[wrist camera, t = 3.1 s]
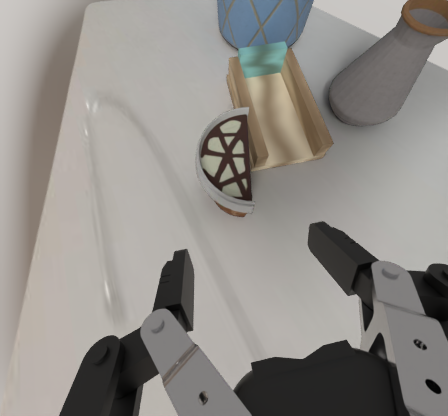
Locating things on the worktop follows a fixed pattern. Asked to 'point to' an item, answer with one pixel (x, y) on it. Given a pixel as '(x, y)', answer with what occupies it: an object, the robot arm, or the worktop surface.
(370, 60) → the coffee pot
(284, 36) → the planter
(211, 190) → the food container
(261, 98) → the channel board
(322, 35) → the worktop surface
